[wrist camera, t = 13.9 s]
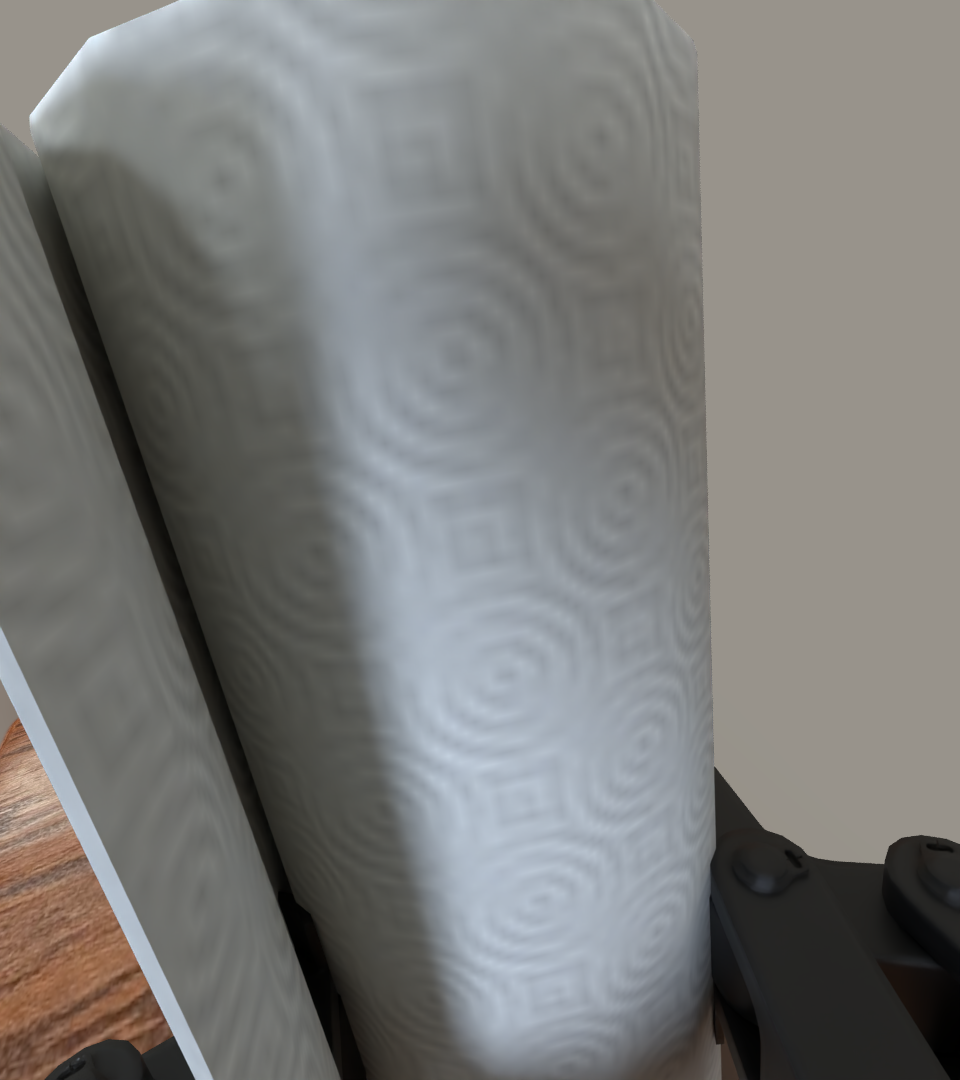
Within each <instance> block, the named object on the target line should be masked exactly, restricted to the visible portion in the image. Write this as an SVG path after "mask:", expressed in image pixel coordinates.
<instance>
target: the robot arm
mask: <svg viewBox="0 0 960 1080" xmlns="http://www.w3.org/2000/svg"><path fill="white" fill-rule="evenodd" d="M714 785H715V827H716V850H715V852H714V855H713V858H712V860H711V863H710V876H711V895H710V897H709V902H710V936H711V970H712V978H713V988H714V1025H715V1040H716V1045H719V1044H724V1036H725V1038H726V1041H727V1044H728V1047H729V1050H730V1053H731V1056H732V1059H733V1062H734V1065H735V1068H736V1071H737V1074H738V1077H739V1080H960V844H958V843H955V842H953V841H950V840H947V839H943V838H937V837H930V836H923V835H919V836H911V837H904V838H901V839H899V840H898V841H897V842H895V843H893V844H892V845H890V846H889V849H888V852H887V855H886V859H885V864H872V863H855V862H839V861H838V862H837V861H830V860H824V859H817V858H814V857H811V856H808V855H807V854H806V853H805V852H804V851H803V849H802V848H800V847H799V846H797V845H796V844H794V843H793V842H791V841H790V840H788V839H786V838H785V837H783V836H781V835H778V834H775V833H772V832H769V831H766V830H765V829H764V828H763V827H762V826H761V825H760V824H759V822H758V821H757V820H756V819H755V817H754V816H753V815H752V814H751V812H750V811H749V810H748V808H747V807H746V806H745V805H744V803H743V802H742V801H741V800H740V798H739V797H738V796H737V794H736V793H735V792H734V791H733V789H732V788H731V787H730V786H729V784H728V783H727V782H726V781H725V779H724V778H723V777H722V775H721V774H720V773H719V772H718V770H717V769H716V768H715V767H714ZM278 902H279V905H280V908H281V911H282V914H283V916H284V919H285V922H286V925H287V927H288V930H289V933H290V935H289V936H291V938H290V939H292V941H293V944H294V946H293V948H294V947H295V949H294V950H295V953H296V956H297V959H298V961H299V964H300V967H301V970H302V973H303V975H304V978H305V981H306V984H307V987H308V989H309V992H310V995H311V998H312V1001H313V1003H314V1006H315V1009H316V1012H317V1014H318V1017H319V1020H320V1023H321V1026H322V1028H323V1031H324V1034H325V1037H326V1040H327V1042H328V1045H329V1048H330V1051H331V1053H332V1056H333V1059H334V1062H335V1065H336V1067H337V1070H338V1073H339V1076H340V1079H341V1080H367V1079H366V1071H365V1068H364V1065H363V1062H362V1059H361V1056H360V1053H359V1050H358V1047H357V1044H356V1041H355V1038H354V1035H353V1032H352V1029H351V1026H350V1023H349V1020H348V1017H347V1014H346V1011H345V1008H344V1005H343V1002H342V999H341V996H340V995H339V994H338V993H337V990H336V987H335V984H334V982H333V979H332V976H331V973H330V970H329V967H328V964H327V961H326V958H325V955H324V952H323V949H322V946H321V943H320V940H319V937H318V934H317V931H316V928H315V925H314V922H313V919H312V917H311V914H310V913H309V912H307V911H306V910H305V909H304V908H303V907H301V906H300V905H299V904H298V903H296V901H295V898H294V895H293V894H291V893H286V892H280V891H279V892H278ZM287 927H286V928H287ZM288 930H287V931H288ZM289 933H288V934H289ZM292 941H291V942H292ZM293 944H292V945H293ZM45 1080H195V1078H194V1076H193V1074H192V1071H191V1069H190V1067H189V1065H188V1063H187V1061H186V1059H185V1057H184V1055H183V1053H182V1051H181V1049H180V1047H179V1045H178V1043H177V1041H176V1039H175V1037H174V1036H173V1037H171V1038H170V1039H168V1040H166V1041H164V1042H163V1043H161V1044H159V1045H157V1046H156V1047H154V1048H152V1049H151V1050H149V1051H147V1052H145V1053H144V1054H142V1055H141V1054H140V1052H139V1051H138V1050H137V1049H136V1048H135V1047H134V1046H133V1045H132V1044H131V1043H130V1042H129V1041H126V1040H111V1039H108V1040H105V1041H103V1042H100V1043H97V1044H94V1045H91V1046H89V1047H86V1048H84V1049H82V1050H81V1051H79V1052H78V1053H76V1054H75V1055H74V1056H72V1057H71V1058H69V1059H68V1060H66V1061H65V1062H63V1063H62V1064H60V1065H59V1066H58V1067H57V1068H56V1069H55V1070H54V1071H53V1072H52V1073H51V1074H50V1075H49V1076H48V1077H47V1078H46V1079H45Z"/></svg>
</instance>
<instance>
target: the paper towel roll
mask: <svg viewBox="0 0 960 1080" xmlns="http://www.w3.org/2000/svg"><path fill="white" fill-rule="evenodd" d="M29 117H30V132H31V135H32V138H33V141H34V144H35V147H36V150H37V152H38V155H39V157H38V156H37V155H36V154H35V153H34V152H33V151H31V150H30V149H29V148H28V147H27V146H26V145H25V144H24V143H22V142H21V141H20V140H19V139H18V138H17V137H16V136H15V135H13V134H12V133H11V132H10V131H9V130H8V129H7V128H5V127H4V126H3V125H2V124H1V123H0V679H1V681H2V683H3V685H4V687H5V689H6V691H7V694H8V696H9V698H10V700H11V702H12V704H13V706H14V708H15V710H16V712H17V714H18V716H19V718H20V720H21V722H22V724H23V726H24V728H25V731H26V733H27V735H28V737H29V739H30V741H31V743H32V745H33V747H34V749H35V751H36V753H37V755H38V757H39V759H40V761H41V763H42V765H43V768H44V770H45V772H46V774H47V776H48V778H49V780H50V782H51V784H52V786H53V788H54V790H55V792H56V794H57V796H58V798H59V800H60V802H61V804H62V807H63V809H64V811H65V813H66V815H67V817H68V819H69V821H70V823H71V825H72V827H73V829H74V831H75V833H76V835H77V837H78V839H79V841H80V844H81V846H82V848H83V850H84V852H85V854H86V856H87V858H88V860H89V862H90V864H91V866H92V868H93V870H94V872H95V874H96V876H97V878H98V880H99V883H100V885H101V887H102V889H103V891H104V893H105V895H106V897H107V899H108V901H109V903H110V905H111V907H112V909H113V911H114V913H115V915H116V917H117V919H118V922H119V924H120V926H121V928H122V930H123V932H124V934H125V936H126V938H127V940H128V942H129V944H130V946H131V948H132V950H133V952H134V954H135V956H136V959H137V961H138V963H139V965H140V967H141V969H142V971H143V973H144V975H145V977H146V979H147V981H148V983H149V985H150V987H151V989H152V991H153V993H154V995H155V998H156V1000H157V1002H158V1004H159V1006H160V1008H161V1010H162V1012H163V1014H164V1016H165V1018H166V1020H167V1022H168V1024H169V1026H170V1028H171V1030H172V1032H173V1035H174V1037H175V1039H176V1041H177V1043H178V1045H179V1047H180V1049H181V1051H182V1053H183V1055H184V1057H185V1059H186V1061H187V1063H188V1065H189V1067H190V1069H191V1071H192V1074H193V1076H194V1078H195V1080H341V1079H340V1076H339V1073H338V1070H337V1067H336V1065H335V1062H334V1059H333V1056H332V1053H331V1051H330V1048H329V1045H328V1042H327V1040H326V1037H325V1034H324V1031H323V1028H322V1026H321V1023H320V1020H319V1017H318V1014H317V1012H316V1009H315V1006H314V1003H313V1001H312V998H311V995H310V992H309V989H308V987H307V984H306V981H305V978H304V975H303V973H302V970H301V967H300V964H299V961H298V959H297V956H296V953H295V950H294V949H295V947H294V948H293V946H294V944H293V941H292V939H290V938H291V936H289V935H290V933H289V930H288V927H287V925H286V922H285V919H284V916H283V914H282V911H281V908H280V905H279V902H278V892H279V891H280V892H286V893H291V894H293V895H294V898H295V901H296V903H298V904H299V905H300V906H301V907H303V908H304V909H305V910H306V911H307V912H309V913H310V914H311V917H312V919H313V922H314V925H315V928H316V931H317V934H318V937H319V940H320V943H321V946H322V949H323V952H324V955H325V958H326V961H327V964H328V967H329V970H330V973H331V976H332V979H333V982H334V984H335V987H336V990H337V993H338V994H339V995H340V996H341V999H342V1002H343V1005H344V1008H345V1011H346V1014H347V1017H348V1020H349V1023H350V1026H351V1029H352V1032H353V1035H354V1038H355V1041H356V1044H357V1047H358V1050H359V1053H360V1056H361V1059H362V1062H363V1065H364V1068H365V1071H366V1079H367V1080H721V1044H719V1045H716V1040H715V1025H714V988H713V978H712V970H711V936H710V902H709V897H710V895H711V876H710V863H711V860H712V858H713V855H714V852H715V850H716V827H715V785H714V745H713V744H714V743H713V700H712V659H711V617H710V575H709V535H708V534H709V532H708V492H707V491H708V489H707V449H706V405H705V364H704V325H703V323H704V322H703V279H702V236H701V196H700V195H701V194H700V157H699V156H700V154H699V153H700V152H699V110H698V70H697V51H696V49H695V45H694V42H693V40H692V39H691V38H690V36H688V34H687V33H686V32H685V31H684V30H683V29H682V28H681V27H680V26H679V25H678V24H677V23H676V22H675V21H674V20H673V19H672V18H671V17H670V16H669V15H668V14H667V13H666V12H665V11H664V10H663V9H662V8H661V7H660V6H659V5H658V4H657V3H656V2H655V1H654V0H179V1H177V2H174V3H172V4H170V5H167V6H165V7H162V8H160V9H158V10H155V11H153V12H150V13H148V14H146V15H143V16H141V17H138V18H136V19H133V20H131V21H129V22H126V23H124V24H121V25H119V26H117V27H114V28H112V29H109V30H107V31H104V32H102V33H100V34H97V35H95V36H92V37H90V38H89V39H88V40H87V41H86V43H85V44H84V45H83V47H82V48H81V49H80V51H79V52H78V53H77V54H76V56H75V57H74V58H73V60H72V61H71V62H70V64H69V65H68V67H66V69H65V70H64V71H63V73H62V74H61V75H60V77H59V78H58V79H57V81H56V82H55V83H54V85H53V86H52V87H51V88H50V90H49V91H48V92H47V94H46V95H45V96H44V98H43V99H42V100H41V101H40V103H39V104H38V105H37V107H36V108H35V109H34V111H33V112H32V113H31V115H30V116H29ZM286 927H287V928H286ZM287 930H288V931H287ZM288 933H289V934H288ZM291 941H292V942H291ZM292 944H293V945H292Z"/></svg>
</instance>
